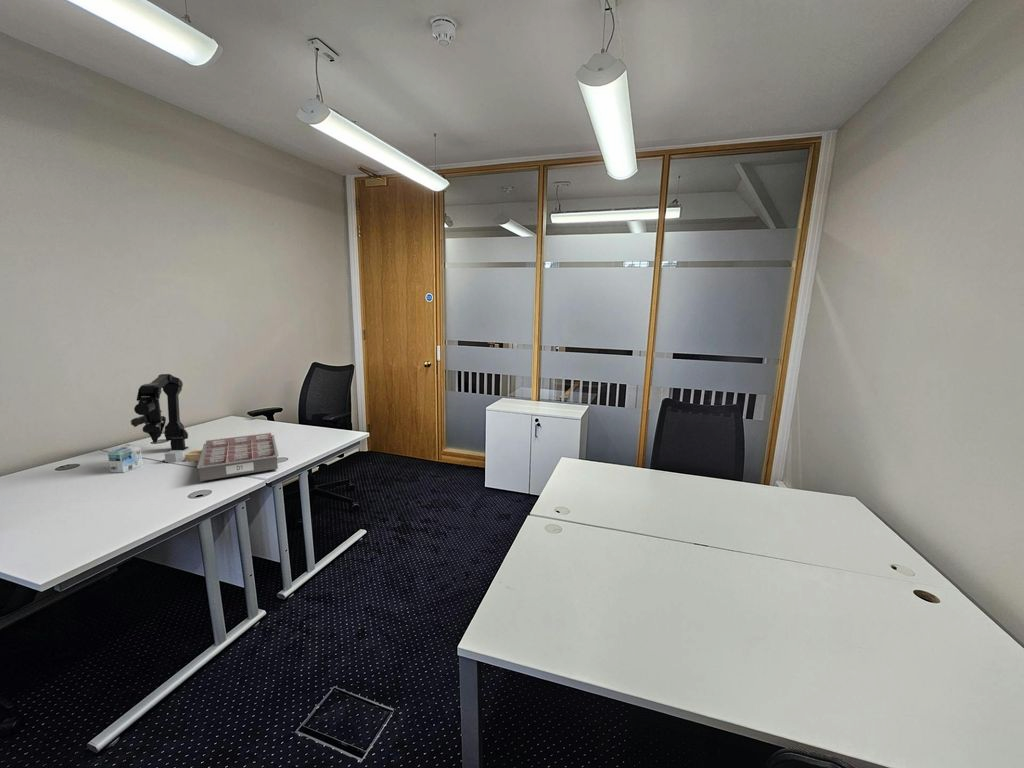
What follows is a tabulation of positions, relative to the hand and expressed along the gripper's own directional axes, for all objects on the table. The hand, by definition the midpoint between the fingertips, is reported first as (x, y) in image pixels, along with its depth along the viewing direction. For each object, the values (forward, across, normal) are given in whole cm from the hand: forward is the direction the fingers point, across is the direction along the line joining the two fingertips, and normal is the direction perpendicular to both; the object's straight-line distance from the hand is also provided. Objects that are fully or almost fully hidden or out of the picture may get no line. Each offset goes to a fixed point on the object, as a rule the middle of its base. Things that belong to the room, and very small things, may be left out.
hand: (157, 440), depth 207 cm
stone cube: (+13, -1, +5) cm, 14 cm away
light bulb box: (+13, +1, -12) cm, 18 cm away
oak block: (+13, +1, +16) cm, 20 cm away
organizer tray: (+13, +20, +35) cm, 42 cm away
